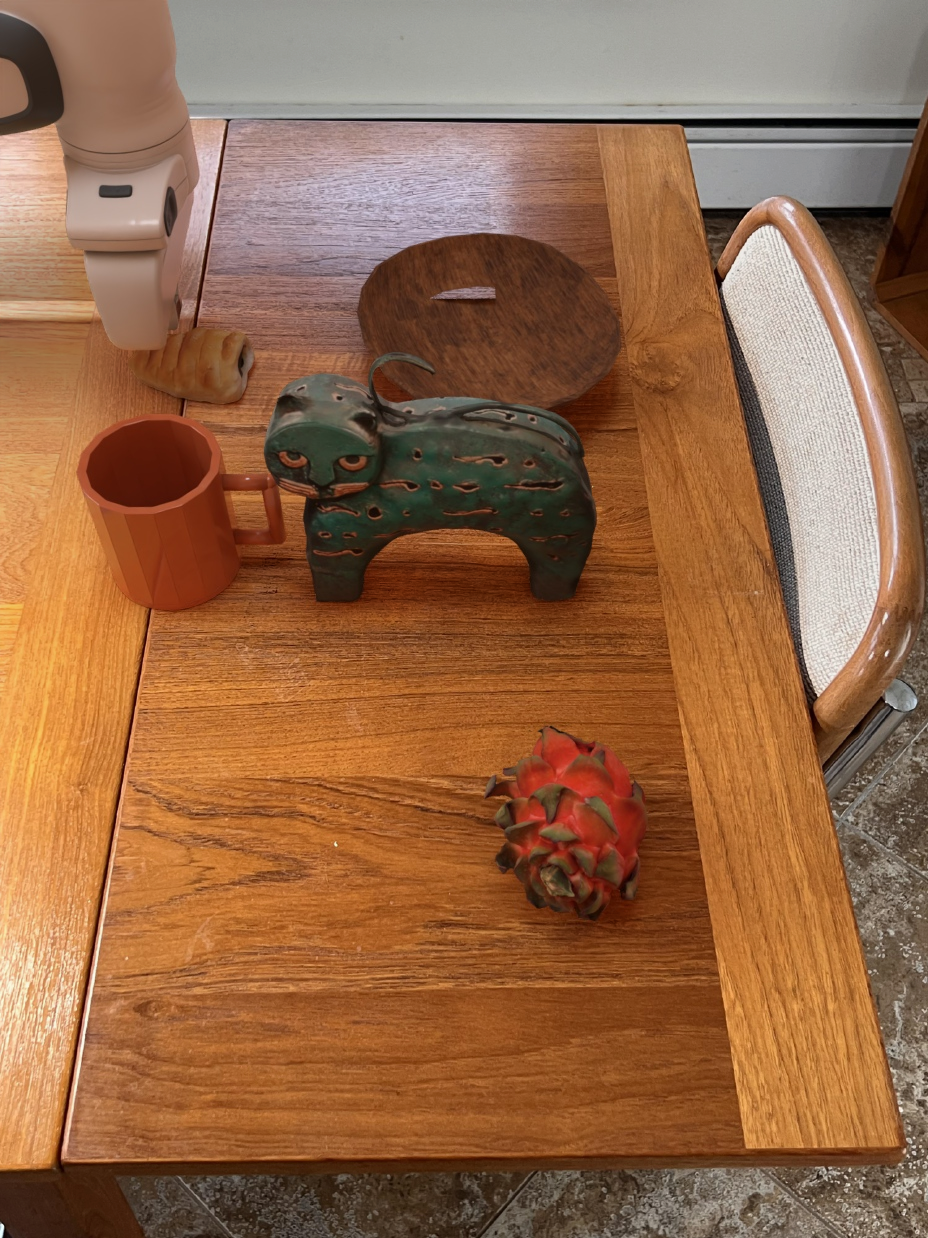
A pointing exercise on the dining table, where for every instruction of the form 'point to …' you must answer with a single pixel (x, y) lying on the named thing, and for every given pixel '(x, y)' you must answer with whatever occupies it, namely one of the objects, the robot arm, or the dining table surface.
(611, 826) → the dragon fruit
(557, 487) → the ceramic cat
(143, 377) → the pastry
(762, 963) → the dining table surface
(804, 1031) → the dining table surface
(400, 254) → the bowl
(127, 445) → the mug
